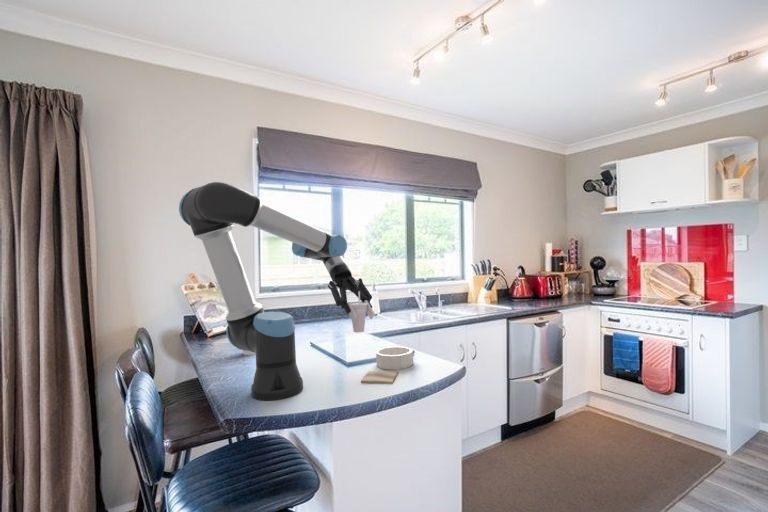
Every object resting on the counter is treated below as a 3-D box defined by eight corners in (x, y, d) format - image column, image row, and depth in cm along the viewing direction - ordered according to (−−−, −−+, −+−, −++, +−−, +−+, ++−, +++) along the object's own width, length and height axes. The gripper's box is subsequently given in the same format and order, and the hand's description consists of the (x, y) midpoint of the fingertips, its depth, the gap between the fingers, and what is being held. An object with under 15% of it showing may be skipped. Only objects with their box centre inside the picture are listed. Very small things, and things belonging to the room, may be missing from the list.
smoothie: (359, 334, 129) (358, 292, 129) (345, 332, 133) (344, 291, 132) (371, 330, 134) (370, 290, 134) (357, 328, 138) (356, 290, 138)
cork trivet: (392, 383, 117) (392, 381, 117) (361, 382, 119) (360, 380, 119) (398, 373, 127) (398, 371, 127) (369, 372, 129) (369, 370, 129)
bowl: (403, 371, 128) (403, 357, 128) (370, 367, 134) (369, 354, 134) (418, 360, 140) (417, 347, 140) (386, 358, 146) (386, 345, 146)
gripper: (357, 275, 152) (382, 320, 138) (312, 279, 140) (335, 329, 127) (363, 261, 147) (390, 307, 134) (317, 264, 136) (342, 314, 123)
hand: (363, 317), depth 131 cm, fingers closed on smoothie, 6 cm apart
